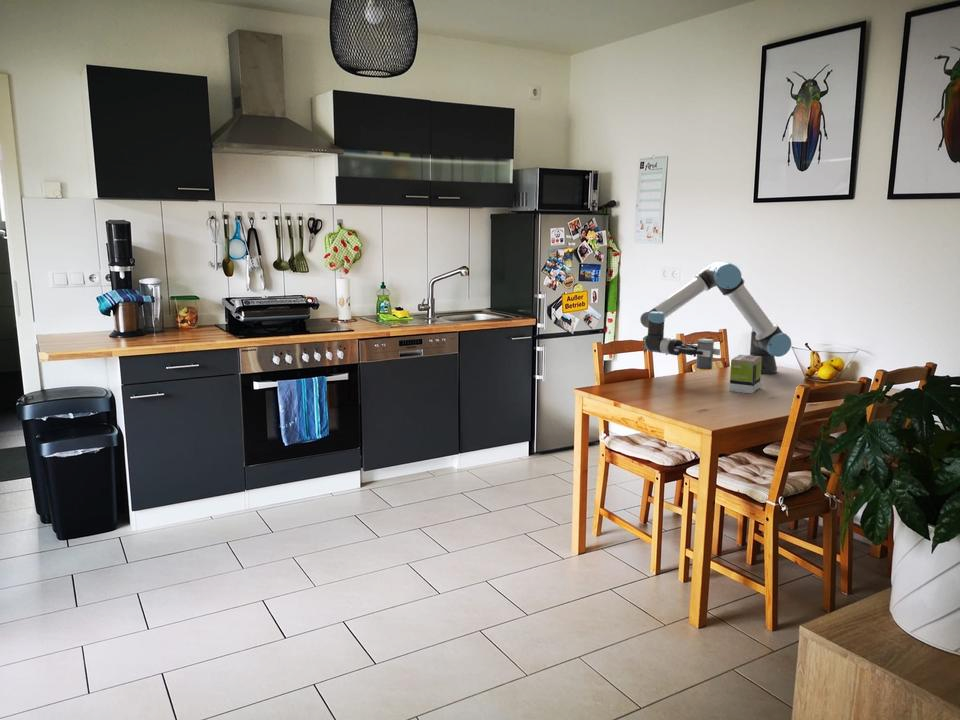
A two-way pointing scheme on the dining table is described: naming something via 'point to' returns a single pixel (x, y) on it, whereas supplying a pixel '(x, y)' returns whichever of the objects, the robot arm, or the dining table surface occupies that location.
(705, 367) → the tin canister
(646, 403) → the dining table surface
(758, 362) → the tea box
